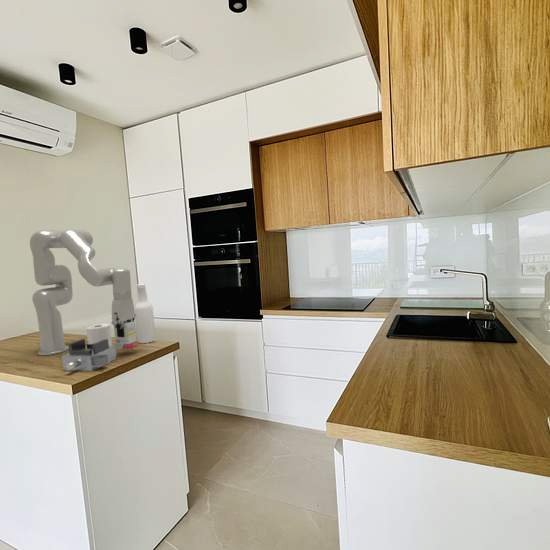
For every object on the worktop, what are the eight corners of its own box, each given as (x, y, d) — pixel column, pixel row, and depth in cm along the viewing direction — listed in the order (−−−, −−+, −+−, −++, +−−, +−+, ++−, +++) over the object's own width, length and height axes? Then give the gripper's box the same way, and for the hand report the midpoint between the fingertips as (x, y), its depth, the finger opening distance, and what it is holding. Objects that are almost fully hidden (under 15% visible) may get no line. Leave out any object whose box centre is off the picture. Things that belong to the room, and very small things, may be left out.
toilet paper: (115, 349, 158) (112, 325, 157) (91, 355, 151) (88, 329, 150) (109, 345, 166) (106, 322, 165) (86, 351, 159) (83, 326, 158)
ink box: (137, 346, 151) (135, 321, 150) (129, 350, 146) (127, 324, 145) (124, 344, 154) (122, 320, 153) (115, 348, 150) (113, 323, 148)
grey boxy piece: (53, 374, 129) (50, 349, 128) (90, 358, 147) (87, 336, 146) (91, 375, 125) (88, 350, 124) (123, 359, 143) (121, 336, 142)
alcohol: (144, 344, 163) (138, 285, 161) (134, 342, 168) (128, 285, 166) (159, 339, 171) (153, 283, 168) (148, 338, 176) (143, 283, 173)
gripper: (128, 293, 157) (130, 329, 159) (101, 299, 140) (104, 340, 142) (141, 293, 155) (144, 330, 157) (116, 299, 139) (119, 340, 140)
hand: (125, 334), depth 150 cm, fingers closed on ink box, 5 cm apart
